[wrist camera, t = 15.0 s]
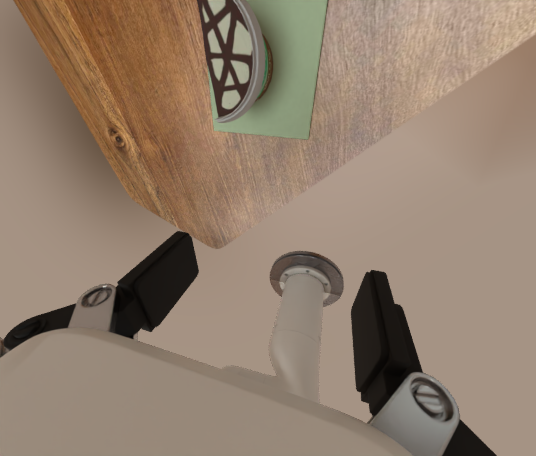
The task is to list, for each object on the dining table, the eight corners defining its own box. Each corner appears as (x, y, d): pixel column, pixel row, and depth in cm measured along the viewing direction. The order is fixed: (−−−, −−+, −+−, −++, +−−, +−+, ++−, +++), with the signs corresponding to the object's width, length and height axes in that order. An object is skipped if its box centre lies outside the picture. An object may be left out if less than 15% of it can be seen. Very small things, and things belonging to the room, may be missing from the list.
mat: (308, 139, 32) (308, 139, 32) (215, 130, 36) (213, 130, 35) (333, -40, 22) (333, -43, 22) (199, -30, 25) (197, -32, 25)
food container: (283, 114, 31) (264, 123, 23) (245, 116, 33) (214, 125, 25) (280, -5, 24) (251, -51, 16) (232, 5, 26) (184, -32, 18)
